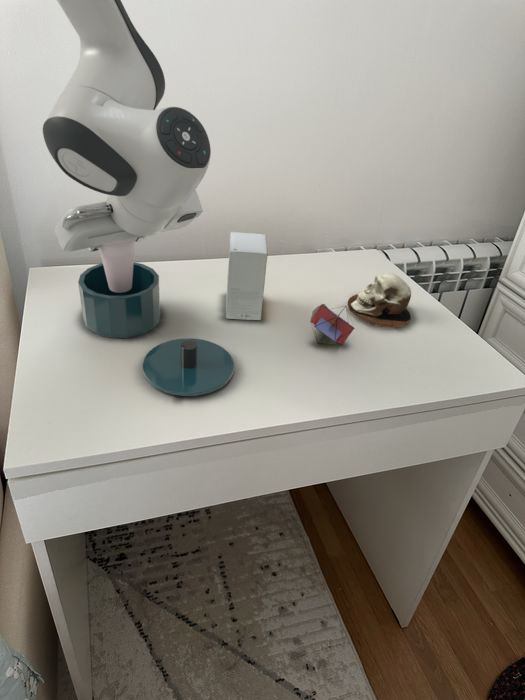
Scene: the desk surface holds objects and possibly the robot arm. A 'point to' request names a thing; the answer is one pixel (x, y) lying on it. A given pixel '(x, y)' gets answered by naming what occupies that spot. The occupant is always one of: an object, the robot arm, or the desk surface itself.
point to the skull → (383, 302)
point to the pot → (120, 303)
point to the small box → (246, 276)
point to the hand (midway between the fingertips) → (115, 241)
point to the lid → (188, 367)
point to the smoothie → (119, 264)
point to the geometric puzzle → (331, 324)
